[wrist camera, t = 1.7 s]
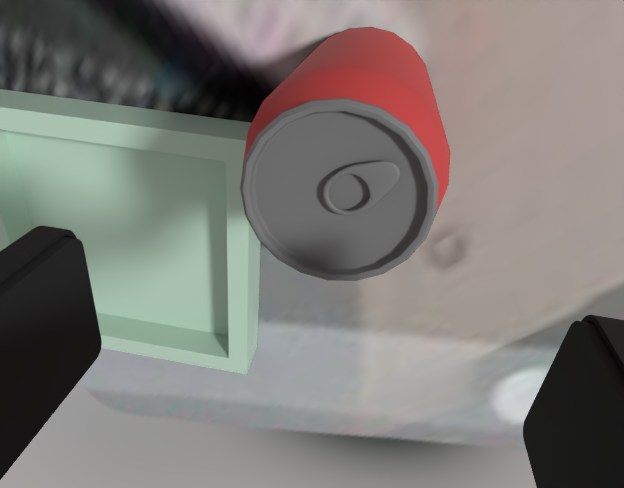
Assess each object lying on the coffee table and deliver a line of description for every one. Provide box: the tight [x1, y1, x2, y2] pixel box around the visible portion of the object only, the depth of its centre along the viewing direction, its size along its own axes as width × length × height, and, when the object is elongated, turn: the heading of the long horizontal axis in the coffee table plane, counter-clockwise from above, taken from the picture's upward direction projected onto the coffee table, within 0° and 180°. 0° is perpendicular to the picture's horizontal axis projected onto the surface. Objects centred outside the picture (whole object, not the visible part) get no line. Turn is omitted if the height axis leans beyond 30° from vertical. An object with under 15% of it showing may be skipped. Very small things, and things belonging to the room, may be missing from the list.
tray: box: [0, 89, 261, 375], centre depth 28 cm, size 16×16×3 cm
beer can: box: [240, 27, 450, 281], centre depth 18 cm, size 7×7×12 cm
